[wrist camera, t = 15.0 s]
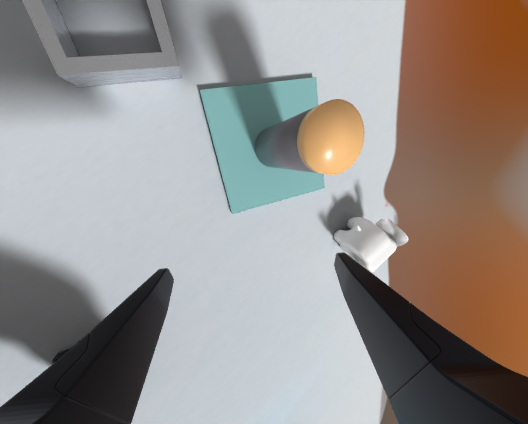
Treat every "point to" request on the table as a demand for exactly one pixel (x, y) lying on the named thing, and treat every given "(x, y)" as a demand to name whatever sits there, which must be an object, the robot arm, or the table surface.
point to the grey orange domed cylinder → (314, 140)
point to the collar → (106, 66)
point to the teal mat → (244, 136)
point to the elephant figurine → (370, 241)
